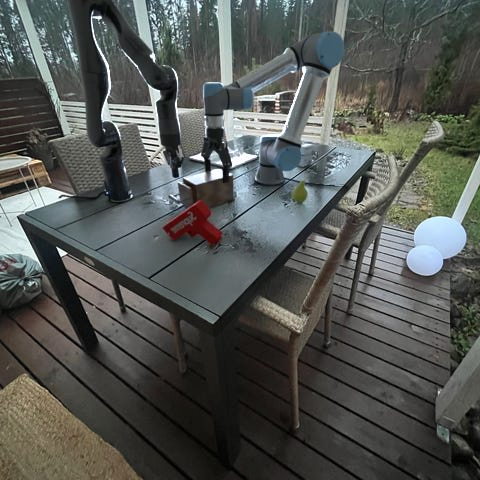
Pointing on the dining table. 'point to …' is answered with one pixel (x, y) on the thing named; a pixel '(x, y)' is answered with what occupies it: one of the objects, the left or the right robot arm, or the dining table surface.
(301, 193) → the fruit
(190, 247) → the dining table surface
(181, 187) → the drawer
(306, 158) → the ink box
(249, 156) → the relief map
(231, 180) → the wooden drawer box
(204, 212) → the toy gun
